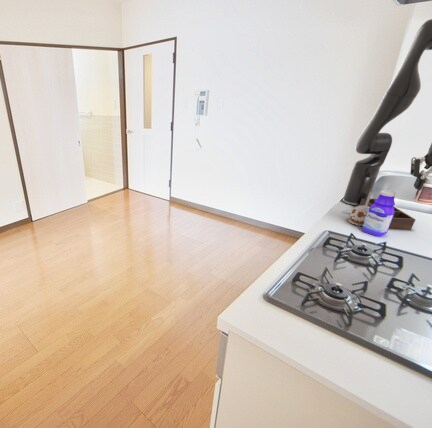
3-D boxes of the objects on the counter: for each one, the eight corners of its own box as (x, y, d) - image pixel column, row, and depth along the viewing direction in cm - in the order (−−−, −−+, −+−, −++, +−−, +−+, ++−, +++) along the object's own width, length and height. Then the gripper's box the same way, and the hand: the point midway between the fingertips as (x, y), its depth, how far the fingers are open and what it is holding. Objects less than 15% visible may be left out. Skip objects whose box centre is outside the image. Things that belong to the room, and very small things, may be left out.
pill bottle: (437, 204, 91) (449, 180, 88) (422, 205, 91) (434, 180, 88) (423, 198, 95) (434, 175, 92) (408, 199, 96) (419, 176, 92)
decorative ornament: (343, 220, 121) (354, 187, 114) (359, 218, 121) (371, 186, 115) (359, 228, 114) (371, 194, 107) (376, 226, 114) (390, 192, 108)
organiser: (358, 207, 131) (361, 198, 129) (377, 208, 129) (381, 198, 127) (388, 229, 112) (392, 218, 110) (410, 230, 110) (415, 219, 108)
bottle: (358, 230, 112) (372, 190, 105) (366, 227, 114) (381, 187, 107) (379, 238, 106) (397, 196, 99) (388, 235, 108) (406, 193, 101)
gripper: (477, 135, 85) (451, 187, 92) (415, 134, 90) (394, 184, 97) (495, 140, 78) (466, 196, 86) (427, 139, 84) (405, 191, 91)
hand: (428, 189), depth 92 cm, fingers closed on pill bottle, 4 cm apart
